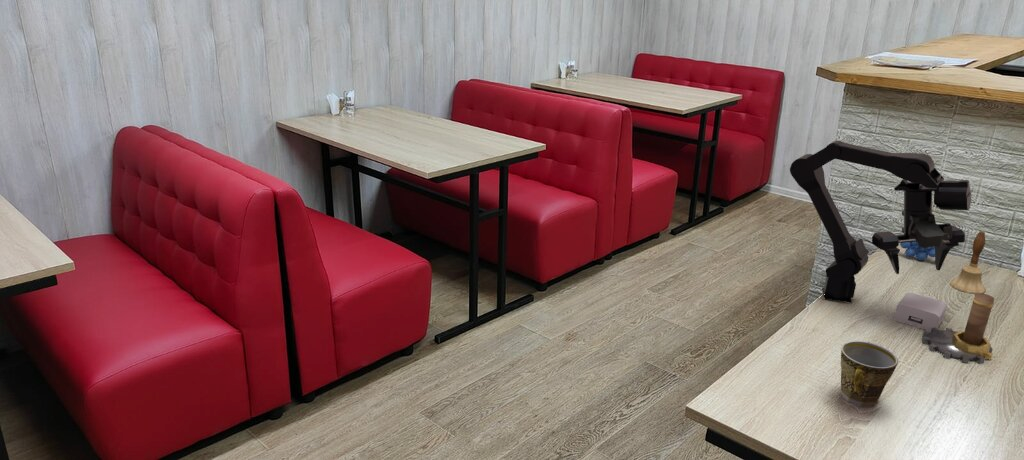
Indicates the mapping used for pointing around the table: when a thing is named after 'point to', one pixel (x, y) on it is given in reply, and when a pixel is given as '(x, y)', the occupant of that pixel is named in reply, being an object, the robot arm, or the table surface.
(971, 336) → the peg
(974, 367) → the table surface
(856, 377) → the ceramic cup
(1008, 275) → the table surface
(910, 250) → the grapes
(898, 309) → the charger
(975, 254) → the hand bell
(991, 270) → the table surface
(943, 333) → the sprocket
